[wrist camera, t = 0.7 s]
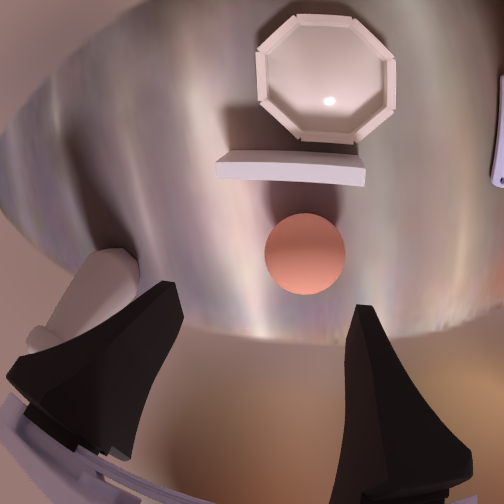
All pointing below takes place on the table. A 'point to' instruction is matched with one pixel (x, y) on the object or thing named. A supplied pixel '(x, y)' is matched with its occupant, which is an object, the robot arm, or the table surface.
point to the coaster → (326, 78)
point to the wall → (292, 166)
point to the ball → (304, 253)
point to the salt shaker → (89, 298)
